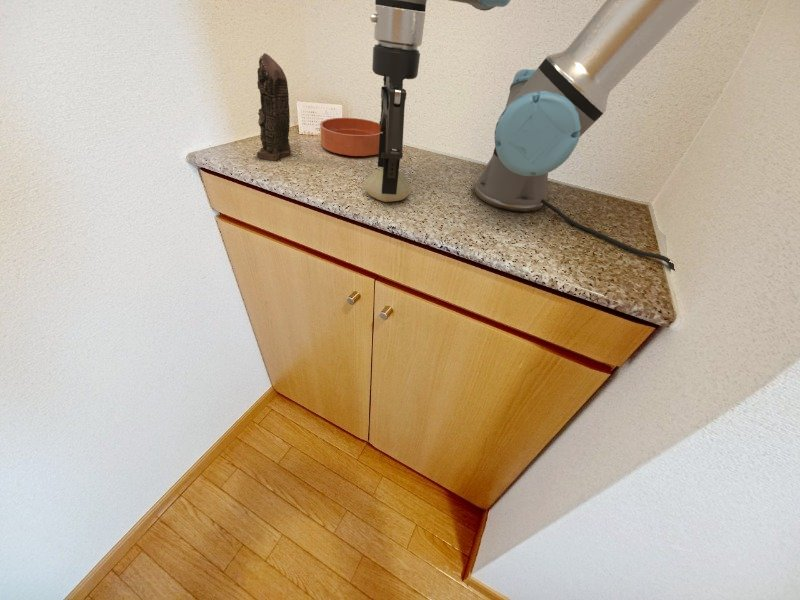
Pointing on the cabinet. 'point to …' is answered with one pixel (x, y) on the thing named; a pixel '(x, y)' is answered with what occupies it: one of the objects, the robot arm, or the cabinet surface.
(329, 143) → the bowl
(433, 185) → the cabinet surface
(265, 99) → the statue
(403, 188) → the sea urchin shell
